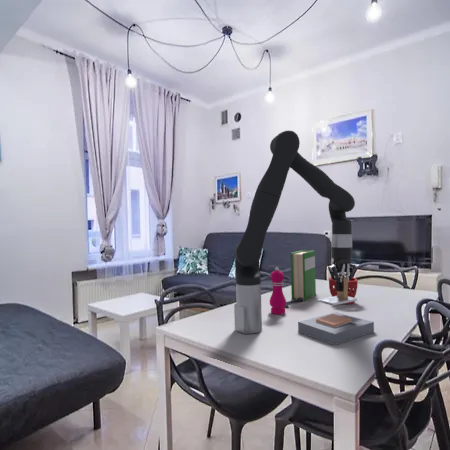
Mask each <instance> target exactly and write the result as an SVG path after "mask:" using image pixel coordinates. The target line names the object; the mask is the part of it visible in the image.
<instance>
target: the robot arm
mask: <svg viewBox="0 0 450 450" xmlns="http://www.w3.org/2000/svg"><path fill="white" fill-rule="evenodd" d="M300 142H301V141H300V138H299V135H298V134H297V133H296V132H295V131H293V130H284V131H281V132H279V133H278V134H277V135H276V136H274V137H273V138H272V140H271V142H270V145H269V149H270V153H271V154H272V157H271V160H270V163H269V165H268V167H267V170H266V171H265V173H264V174H263V176H262V178H261V180H260V181H259V183H258V186H257V188H256V190H255V192H254V193H255V194H254V196H253V199H252V202H251V206H250V210H249V216H248V221H247V225H246V229H245V231H244V234H243V236H242V238H241V240H240V241H239V242H238V243H237V245H236V246H235V249H234V267H235V271H234V272H235V274H234V275H235V296H236V299H235V300H236V301H235V302H236V303H234V305H233V306H234V308H233V309H234V312H233V313H234V331H237V332H239V333H241V334H243V335H246V334H257V333H260V332H262V330H263V325H262V324H263V322H262V321H263V318H262V316H263V315H262V313H263V312H262V279H261V278H262V277H261V271H260V259H261V255H262V252H263V246H264V243H265V239H266V235H267V233H268V229H269V227H270V225H271V222H272V221H273V218H274V216H275V213H276V211H277V208H278V206H279V203H280V200H281V196H282V193H283V191H284V190H283V189H284V187H285V184H286V180H287V177H288V174H289V172H290V169H291V170H292V171H294V172H295V173H296V174H297V175H299V177H301V178H302V179H303V180H304V181H305V182H306V183H307V184H308V185H309V186H310V187H311V188H312V189H313V190H314V191H315V192H316V193H317V194H318V195H319V196H320V197H321V198H325V199H328V201H329V202H328V213H329V218H330V221H331V242H330V243H331V258H332V259H333V260H332V261H333V262H332V265H329V266H328V267H327V269H328V271H329V274H330V277H331V278H332V280H335V281H336V290H337V291H339V292H342V279H343V277H348V281H349V279H352V278H353V275H354V272H355V269H356V264H354V263H352V262H351V259H353V236H352V221H351V220H350V219H349V218H347V214H346V213H349V212H351V211H352V210H353V209H354V207H355V205H356V204H355V203H356V201H355V198H354V197H353V195H352V194H351V193H350V192H349V191H348V190H347V189H345V188H343V187H342V186H340V185H338V183H335V181H333V179H331V178H330V176H329V175H328V174H327V173H326V172H324V170H322V169H321V168H319V167H318V166H316V165H315V164H313V163H311V162H310V161H308V160H307V159H306V158H304V157H303V156H302V154H301V153H299V152H298V151H299V148H300ZM334 276H335V277H334ZM338 276H340V278H339V277H338Z"/></svg>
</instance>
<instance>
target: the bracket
mask: <svg viewBox="0 0 450 450" xmlns="http://www.w3.org/2000/svg"><path fill="white" fill-rule="evenodd" d="M298 303H304V299H303V298H301V297H299V298H295V299H291V300H289V301H286V305H285V307H284V308H285V309H287V308H288V309H289V308H290V307H289V306H290V305H291V304H298Z"/></svg>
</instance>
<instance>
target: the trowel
mask: <svg viewBox="0 0 450 450" xmlns="http://www.w3.org/2000/svg"><path fill="white" fill-rule="evenodd" d="M339 278H340V277H339ZM316 301H317V302H318V303H321V304H325V305H329V306H337V305H344V304H343V303H348V302H353V301H355V302H357V301H358V298H356V297H354V298H353V297H349V296H348V277H343V279H342V292H339V291H337V296H333V297H332V296H328V297H322V298H318V299H316Z"/></svg>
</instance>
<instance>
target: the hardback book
mask: <svg viewBox="0 0 450 450" xmlns="http://www.w3.org/2000/svg"><path fill="white" fill-rule="evenodd" d="M290 284H291V285H290V287H291V288H290V289H291V292H290V293H291V300H295V299H297V298H299V297H301V298H303V302H306V301H308V300H309V299H310V298H312V297H313V296H315V295H316V293H317V289H316V285H317V284H316V250H309V249H307V250H302V249H301V250H298V251H294V252H293V251H292V252H290Z"/></svg>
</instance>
